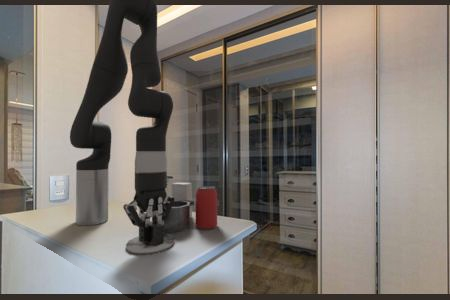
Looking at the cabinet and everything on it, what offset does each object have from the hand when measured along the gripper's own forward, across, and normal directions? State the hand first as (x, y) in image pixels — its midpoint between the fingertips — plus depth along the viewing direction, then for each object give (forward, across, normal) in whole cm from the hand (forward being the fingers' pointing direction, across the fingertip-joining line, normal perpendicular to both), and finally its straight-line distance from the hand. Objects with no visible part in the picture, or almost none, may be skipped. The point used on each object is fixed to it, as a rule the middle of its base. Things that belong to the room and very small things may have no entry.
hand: (150, 240), depth 56 cm
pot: (+1, -12, -6) cm, 13 cm away
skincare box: (+1, -21, -12) cm, 24 cm away
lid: (+1, 0, 0) cm, 1 cm away
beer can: (+1, -19, +2) cm, 19 cm away
